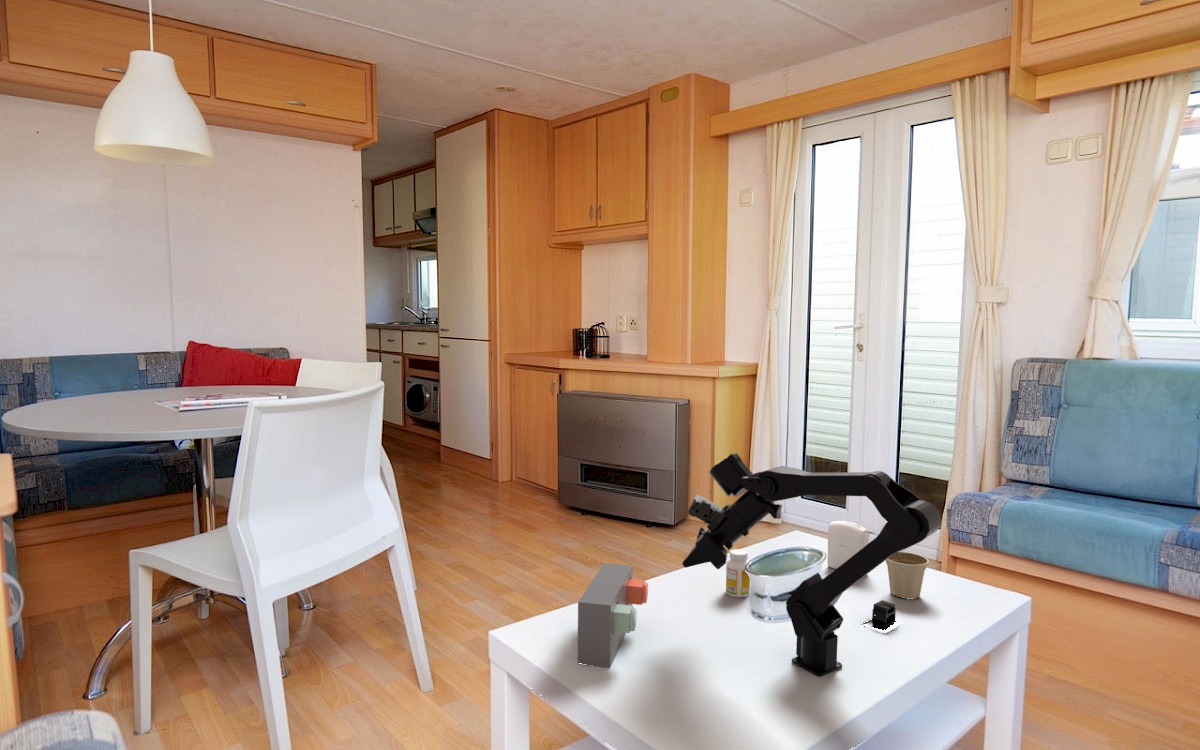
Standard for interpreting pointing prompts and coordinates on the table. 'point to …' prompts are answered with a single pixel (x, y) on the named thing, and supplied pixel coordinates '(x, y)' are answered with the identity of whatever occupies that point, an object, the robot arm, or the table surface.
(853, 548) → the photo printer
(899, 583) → the flower pot
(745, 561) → the supplement bottle
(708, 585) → the table surface
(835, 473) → the robot arm
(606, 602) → the control box
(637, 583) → the button red
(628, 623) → the button green
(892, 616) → the black grooved cube
